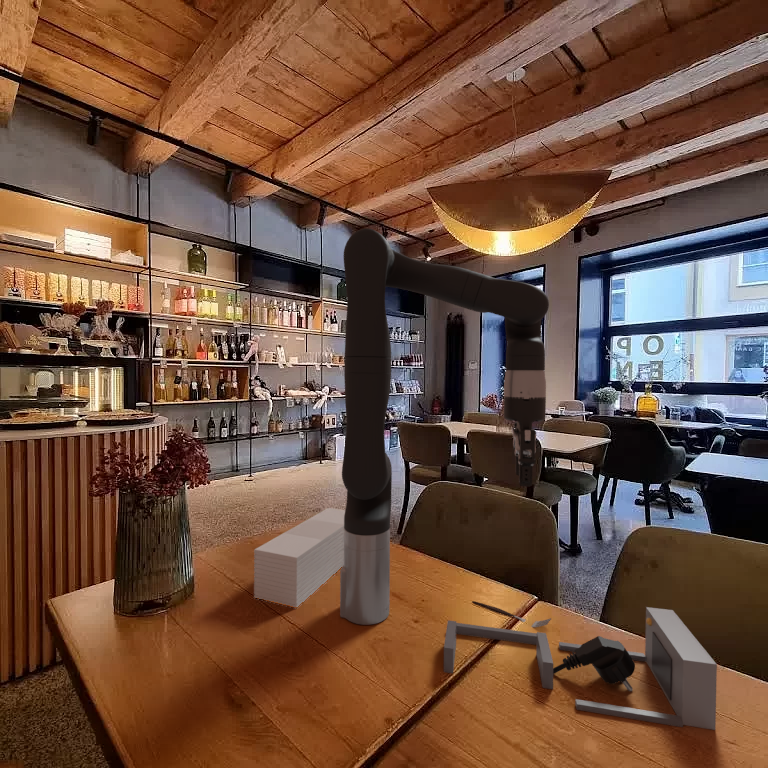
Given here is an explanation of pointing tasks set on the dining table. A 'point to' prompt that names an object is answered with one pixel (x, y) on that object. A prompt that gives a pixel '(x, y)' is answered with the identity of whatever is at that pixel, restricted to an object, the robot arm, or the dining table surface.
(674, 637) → the socket block
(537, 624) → the fork
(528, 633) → the plug holster
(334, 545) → the stack of papers
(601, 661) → the power plug
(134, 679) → the dining table surface
